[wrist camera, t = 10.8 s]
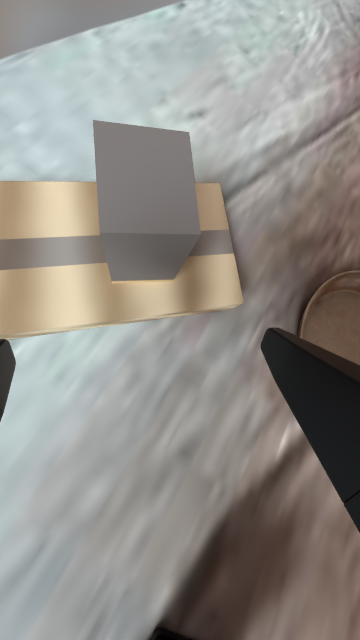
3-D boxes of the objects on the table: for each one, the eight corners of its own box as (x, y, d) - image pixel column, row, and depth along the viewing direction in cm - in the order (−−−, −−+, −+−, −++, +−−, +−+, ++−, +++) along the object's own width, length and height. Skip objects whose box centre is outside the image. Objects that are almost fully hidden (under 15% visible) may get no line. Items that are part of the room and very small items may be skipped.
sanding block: (172, 281, 19) (201, 234, 12) (112, 283, 18) (99, 232, 11) (166, 217, 20) (189, 132, 12) (107, 214, 19) (92, 119, 11)
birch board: (209, 203, 25) (219, 183, 22) (229, 309, 24) (243, 303, 21) (-27, 206, 20) (-54, 180, 17) (-17, 342, 18) (-44, 341, 15)
